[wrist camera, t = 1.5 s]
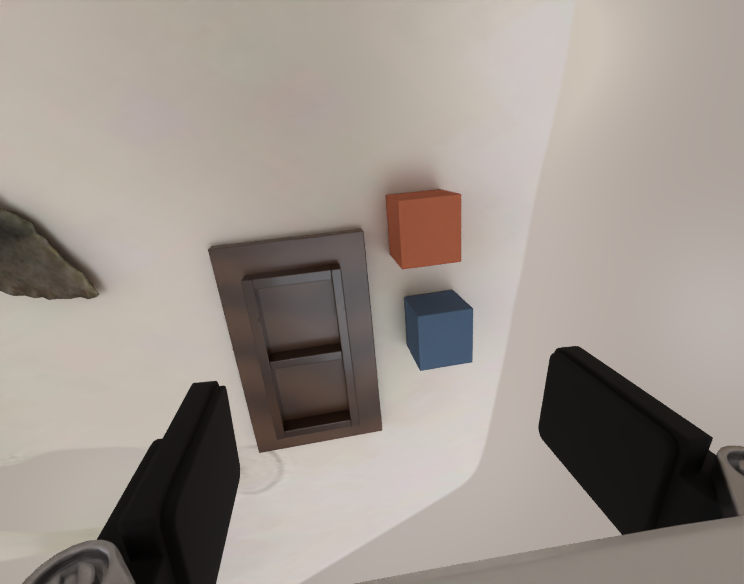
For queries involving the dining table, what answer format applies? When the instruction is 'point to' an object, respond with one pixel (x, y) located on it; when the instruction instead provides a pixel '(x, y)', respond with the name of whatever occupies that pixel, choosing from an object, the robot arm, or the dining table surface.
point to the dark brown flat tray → (301, 336)
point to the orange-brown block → (424, 228)
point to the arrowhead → (36, 264)
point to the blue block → (439, 329)
